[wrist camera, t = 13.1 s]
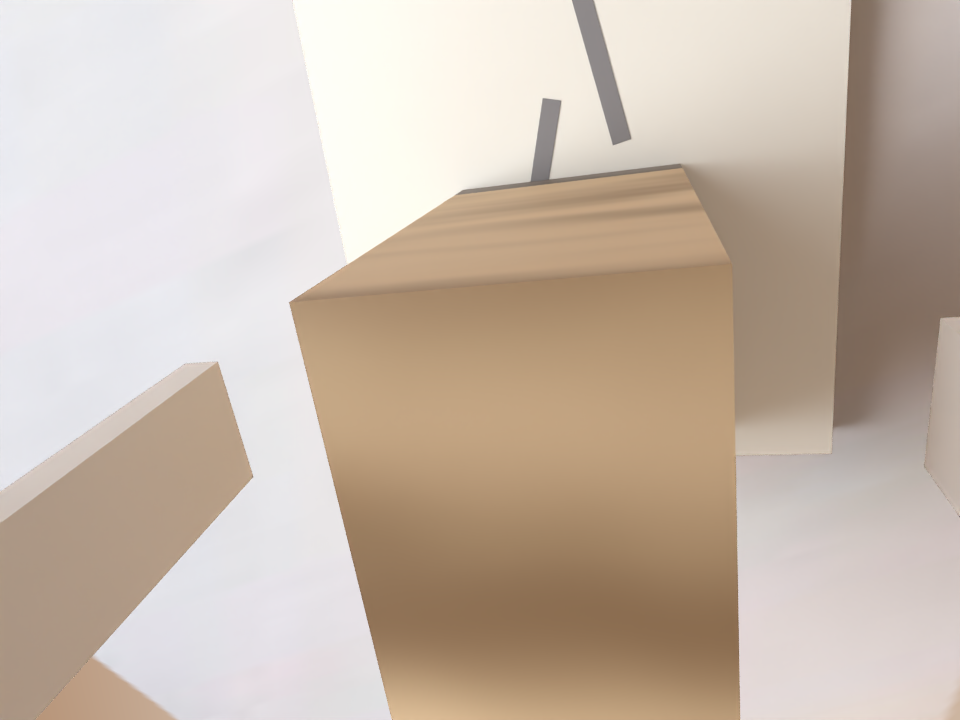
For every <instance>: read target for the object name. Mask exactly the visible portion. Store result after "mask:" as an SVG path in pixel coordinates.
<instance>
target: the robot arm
mask: <svg viewBox="0 0 960 720" xmlns="http://www.w3.org/2000/svg"><path fill="white" fill-rule="evenodd" d="M924 467H925V468H926V470H927V471H928V473H929V474H930V475H931V477H932V478H933V480H934V481H935V483H936V484H937V485H938V487H939V488H940V490H941V491H942V492H943V494H944V495H945V497H946V498H947V500H948V501H949V502H950V504H951V505H952V507H953V508H954V510H955V511H956V512H957V514H958V515H959V517H960V317H948V318H940V327H939V336H938V345H937V355H936V363H935V372H934V382H933V391H932V400H931V409H930V418H929V427H928V436H927V445H926V454H925V463H924ZM252 478H253V474H252V471H251V468H250V465H249V461H248V458H247V455H246V452H245V448H244V445H243V442H242V439H241V435H240V432H239V429H238V426H237V423H236V419H235V416H234V413H233V410H232V406H231V403H230V400H229V397H228V393H227V390H226V387H225V384H224V380H223V377H222V374H221V371H220V367H219V364H218V362H203V363H187V364H184V365H182V366H181V367H180V368H178V369H177V370H175V371H174V372H172V373H171V374H169V375H168V376H167V377H165V378H164V379H162V380H161V381H159V382H158V383H156V384H155V385H154V386H152V387H151V388H149V389H148V390H146V391H145V392H143V393H142V394H141V395H139V396H138V397H136V398H135V399H133V400H132V401H131V402H129V403H128V404H126V405H125V406H123V407H122V408H120V409H119V410H118V411H116V412H115V413H113V414H112V415H110V416H109V417H107V418H106V419H105V420H103V421H102V422H100V423H99V424H97V425H96V426H94V427H93V428H92V429H90V430H89V431H87V432H86V433H84V434H83V435H81V436H80V437H79V438H77V439H76V440H74V441H73V442H71V443H70V444H68V445H67V446H66V447H64V448H63V449H61V450H60V451H58V452H57V453H56V454H54V455H53V456H51V457H50V458H48V459H47V460H45V461H44V462H43V463H41V464H40V465H38V466H37V467H35V468H34V469H32V470H31V471H30V472H28V473H27V474H25V475H24V476H22V477H21V478H19V479H18V480H17V481H15V482H14V483H12V484H11V485H9V486H8V487H6V488H5V489H4V490H2V491H1V492H0V720H35V719H36V718H37V717H38V716H39V715H40V714H41V713H42V712H43V710H44V709H45V708H46V707H47V706H48V705H49V704H50V703H51V702H52V701H53V699H54V698H55V697H56V696H57V695H58V694H59V693H60V692H61V691H62V689H63V688H64V687H65V686H66V685H67V684H68V683H69V682H70V680H71V679H72V678H73V677H74V676H75V675H76V674H77V673H78V672H79V670H80V669H81V668H82V667H83V666H84V665H85V664H86V663H87V662H88V660H89V659H90V658H91V657H92V656H93V655H94V654H95V653H96V651H97V650H98V649H99V648H100V647H101V646H102V645H103V644H104V643H105V641H106V640H107V639H108V638H109V637H110V636H111V635H112V634H113V633H114V631H115V630H116V629H117V628H118V627H119V626H120V625H121V624H122V623H123V621H124V620H125V619H126V618H127V617H128V616H129V615H130V614H131V612H132V611H133V610H134V609H135V608H136V607H137V606H138V605H139V604H140V602H141V601H142V600H143V599H144V598H145V597H146V596H147V595H148V594H149V592H150V591H151V590H152V589H153V588H154V587H155V586H156V585H157V583H158V582H159V581H160V580H161V579H162V578H163V577H164V576H165V575H166V573H167V572H168V571H169V570H170V569H171V568H172V567H173V566H174V565H175V563H176V562H177V561H178V560H179V559H180V558H181V557H182V556H183V555H184V553H185V552H186V551H187V550H188V549H189V548H190V547H191V546H192V544H193V543H194V542H195V541H196V540H197V539H198V538H199V537H200V536H201V534H202V533H203V532H204V531H205V530H206V529H207V528H208V527H209V526H210V524H211V523H212V522H213V521H214V520H215V519H216V518H217V517H218V515H219V514H220V513H221V512H222V511H223V510H224V509H225V508H226V507H227V505H228V504H229V503H230V502H231V501H232V500H233V499H234V498H235V497H236V495H237V494H238V493H239V492H240V491H241V490H242V489H243V488H244V487H245V485H246V484H247V483H248V482H249V481H250V480H251V479H252Z"/></svg>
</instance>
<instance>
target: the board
mask: <svg viewBox="0 0 960 720" xmlns="http://www.w3.org/2000/svg"><path fill="white" fill-rule="evenodd" d="M292 2H293V6H294V11H295V16H296V21H297V26H298V31H299V35H300V40H301V45H302V50H303V55H304V60H305V64H306V69H307V74H308V79H309V84H310V89H311V93H312V98H313V103H314V108H315V113H316V117H317V122H318V127H319V132H320V137H321V142H322V146H323V151H324V156H325V161H326V166H327V171H328V175H329V180H330V185H331V190H332V195H333V200H334V204H335V209H336V214H337V219H338V224H339V229H340V233H341V238H342V243H343V248H344V253H345V257H346V262H347V265H348V264H349V263H351V262H352V261H354V260H355V259H357V258H358V257H360V256H362V255H363V254H365V253H366V252H368V251H369V250H371V249H372V248H374V247H375V246H377V245H379V244H380V243H382V242H383V241H385V240H386V239H388V238H389V237H391V236H392V235H394V234H396V233H397V232H399V231H400V230H402V229H403V228H405V227H406V226H408V225H409V224H411V223H413V222H414V221H416V220H417V219H419V218H420V217H422V216H423V215H425V214H426V213H428V212H430V211H431V210H433V209H434V208H436V207H437V206H439V205H440V204H442V203H443V202H445V201H447V200H448V199H450V198H451V197H453V196H454V195H456V194H457V193H459V192H460V191H462V190H467V189H475V188H483V187H491V186H500V185H508V184H516V183H524V182H533V181H541V180H549V179H557V178H565V177H574V176H582V175H590V174H598V173H607V172H615V171H623V170H631V169H640V168H648V167H656V166H664V165H672V164H681V166H682V168H683V170H684V172H685V174H686V176H687V177H688V179H689V181H690V183H691V185H692V187H693V189H694V191H695V193H696V195H697V197H698V199H699V201H700V203H701V204H702V206H703V208H704V210H705V212H706V214H707V216H708V218H709V220H710V222H711V224H712V226H713V228H714V230H715V232H716V233H717V235H718V237H719V239H720V241H721V243H722V245H723V247H724V249H725V251H726V253H727V255H728V257H729V259H730V260H731V262H732V275H733V334H734V393H735V452H736V456H747V455H798V454H832V434H833V411H834V388H835V365H836V342H837V319H838V296H839V272H840V249H841V226H842V203H843V180H844V157H845V134H846V111H847V88H848V65H849V42H850V19H851V0H292Z"/></svg>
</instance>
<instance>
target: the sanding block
mask: <svg viewBox="0 0 960 720" xmlns="http://www.w3.org/2000/svg"><path fill="white" fill-rule="evenodd" d="M289 303H290V307H291V311H292V316H293V320H294V324H295V328H296V332H297V336H298V340H299V344H300V348H301V352H302V356H303V360H304V364H305V368H306V372H307V376H308V381H309V385H310V389H311V393H312V397H313V401H314V405H315V409H316V413H317V417H318V421H319V425H320V429H321V433H322V437H323V441H324V445H325V450H326V454H327V458H328V462H329V466H330V470H331V474H332V478H333V482H334V486H335V490H336V494H337V498H338V502H339V506H340V510H341V515H342V519H343V523H344V527H345V531H346V535H347V539H348V543H349V547H350V551H351V555H352V559H353V563H354V567H355V571H356V575H357V580H358V584H359V588H360V592H361V596H362V600H363V604H364V608H365V612H366V616H367V620H368V624H369V628H370V632H371V636H372V640H373V645H374V649H375V653H376V657H377V661H378V665H379V669H380V673H381V677H382V681H383V685H384V689H385V693H386V697H387V701H388V705H389V709H390V714H391V718H392V720H740V687H739V628H738V569H737V510H736V452H735V393H734V334H733V275H732V262H731V260H730V259H729V257H728V255H727V253H726V251H725V249H724V247H723V245H722V243H721V241H720V239H719V237H718V235H717V233H716V232H715V230H714V228H713V226H712V224H711V222H710V220H709V218H708V216H707V214H706V212H705V210H704V208H703V206H702V204H701V203H700V201H699V199H698V197H697V195H696V193H695V191H694V189H693V187H692V185H691V183H690V181H689V179H688V177H687V176H686V174H685V172H684V170H683V168H682V166H681V164H672V165H664V166H656V167H648V168H640V169H631V170H623V171H615V172H607V173H598V174H590V175H582V176H574V177H565V178H557V179H549V180H541V181H533V182H524V183H516V184H508V185H500V186H491V187H483V188H475V189H467V190H462V191H460V192H459V193H457V194H456V195H454V196H453V197H451V198H450V199H448V200H447V201H445V202H443V203H442V204H440V205H439V206H437V207H436V208H434V209H433V210H431V211H430V212H428V213H426V214H425V215H423V216H422V217H420V218H419V219H417V220H416V221H414V222H413V223H411V224H409V225H408V226H406V227H405V228H403V229H402V230H400V231H399V232H397V233H396V234H394V235H392V236H391V237H389V238H388V239H386V240H385V241H383V242H382V243H380V244H379V245H377V246H375V247H374V248H372V249H371V250H369V251H368V252H366V253H365V254H363V255H362V256H360V257H358V258H357V259H355V260H354V261H352V262H351V263H349V264H348V265H346V266H345V267H343V268H342V269H340V270H338V271H337V272H335V273H334V274H332V275H331V276H329V277H328V278H326V279H325V280H323V281H321V282H320V283H318V284H317V285H315V286H314V287H312V288H311V289H309V290H308V291H306V292H304V293H303V294H301V295H300V296H298V297H297V298H295V299H294V300H292V301H291V302H289Z"/></svg>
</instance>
